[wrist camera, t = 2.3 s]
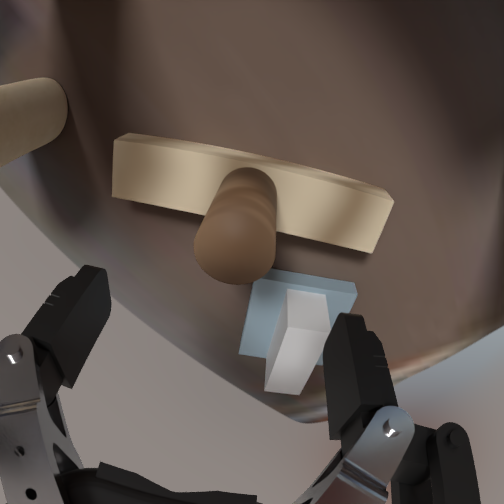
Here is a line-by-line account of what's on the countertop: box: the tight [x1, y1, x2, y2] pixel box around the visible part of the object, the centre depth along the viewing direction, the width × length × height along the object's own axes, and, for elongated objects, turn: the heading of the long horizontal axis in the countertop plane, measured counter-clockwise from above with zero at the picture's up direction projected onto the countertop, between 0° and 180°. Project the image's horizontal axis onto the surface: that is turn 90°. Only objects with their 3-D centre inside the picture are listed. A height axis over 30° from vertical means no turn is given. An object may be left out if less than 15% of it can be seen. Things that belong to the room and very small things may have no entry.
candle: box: [0, 78, 68, 167], centre depth 14 cm, size 6×6×10 cm
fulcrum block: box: [239, 268, 358, 395], centre depth 24 cm, size 8×9×6 cm
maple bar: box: [112, 133, 394, 285], centre depth 17 cm, size 18×4×9 cm, turn 78°
